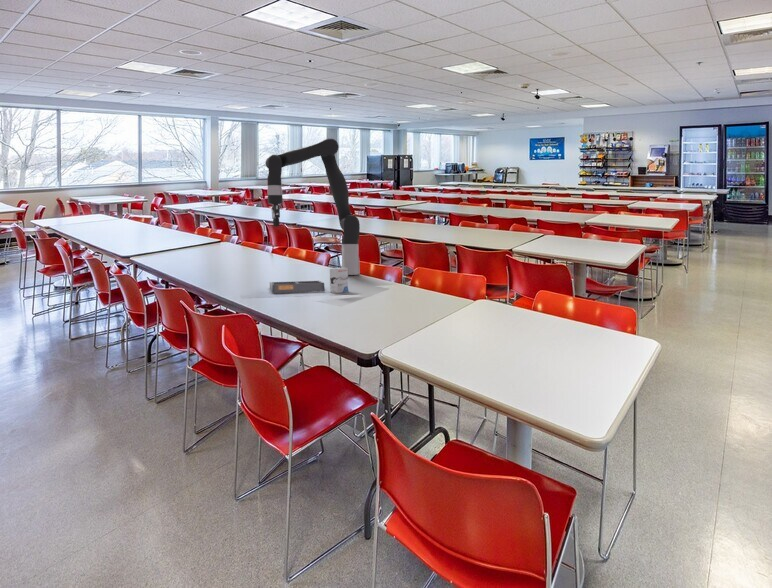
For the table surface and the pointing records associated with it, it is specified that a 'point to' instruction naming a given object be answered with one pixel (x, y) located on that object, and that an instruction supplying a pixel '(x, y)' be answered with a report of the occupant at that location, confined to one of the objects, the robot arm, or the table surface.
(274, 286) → the tray
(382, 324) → the table surface
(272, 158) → the robot arm
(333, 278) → the ink box
